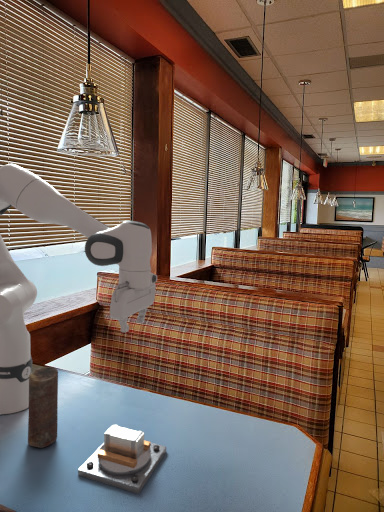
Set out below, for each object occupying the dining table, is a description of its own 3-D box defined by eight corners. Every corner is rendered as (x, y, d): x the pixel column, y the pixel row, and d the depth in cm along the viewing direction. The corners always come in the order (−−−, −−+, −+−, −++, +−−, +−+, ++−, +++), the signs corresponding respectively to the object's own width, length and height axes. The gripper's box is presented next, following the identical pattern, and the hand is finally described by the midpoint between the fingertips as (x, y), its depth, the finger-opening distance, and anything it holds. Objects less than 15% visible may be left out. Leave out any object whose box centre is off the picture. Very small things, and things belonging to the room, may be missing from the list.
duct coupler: (136, 461, 92) (136, 441, 91) (103, 452, 95) (104, 432, 94) (144, 451, 96) (144, 431, 95) (112, 442, 99) (112, 423, 98)
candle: (63, 438, 105) (63, 369, 102) (45, 454, 98) (44, 380, 95) (41, 432, 107) (40, 364, 104) (21, 447, 100) (20, 374, 98)
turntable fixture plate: (78, 475, 91) (78, 458, 90) (112, 437, 106) (113, 423, 105) (138, 493, 86) (138, 476, 85) (166, 451, 101) (166, 437, 100)
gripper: (126, 287, 96) (124, 339, 98) (159, 275, 115) (157, 319, 117) (104, 284, 98) (103, 335, 100) (141, 272, 117) (139, 316, 119)
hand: (132, 326), depth 108 cm, fingers open, 8 cm apart
